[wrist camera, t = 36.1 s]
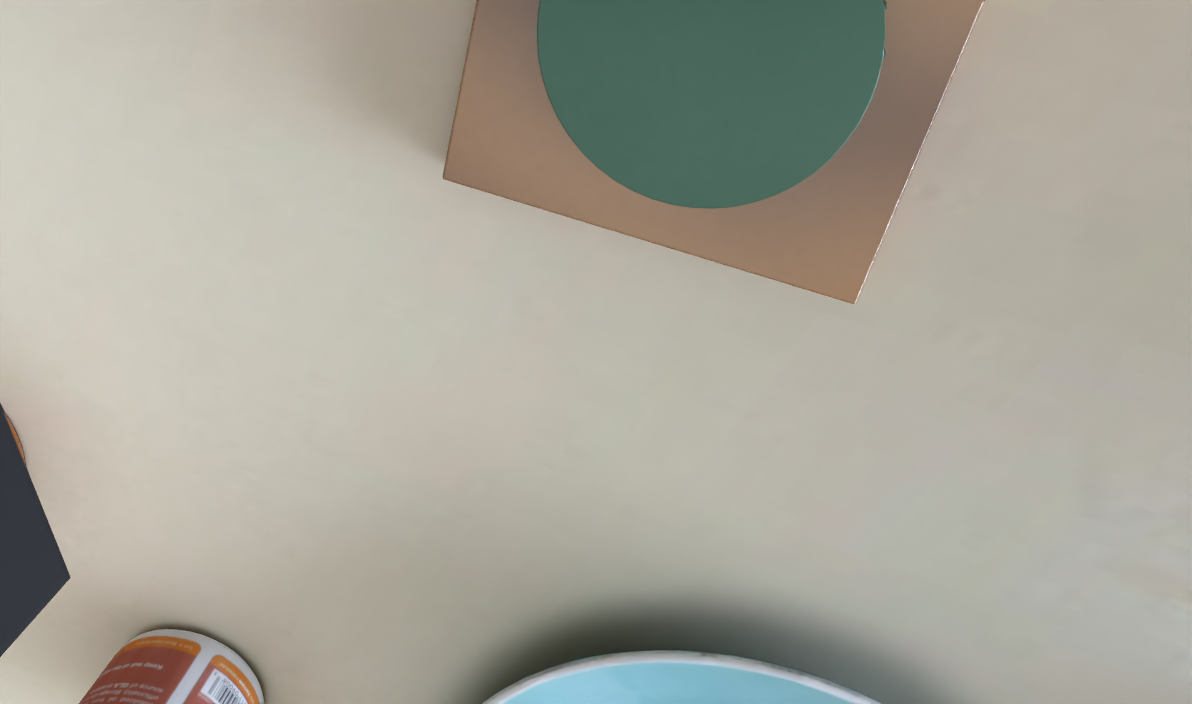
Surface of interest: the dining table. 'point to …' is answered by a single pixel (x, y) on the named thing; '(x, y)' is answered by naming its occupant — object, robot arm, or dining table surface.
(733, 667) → the plate
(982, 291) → the dining table surface
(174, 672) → the pill bottle
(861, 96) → the jar lid
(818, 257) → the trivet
